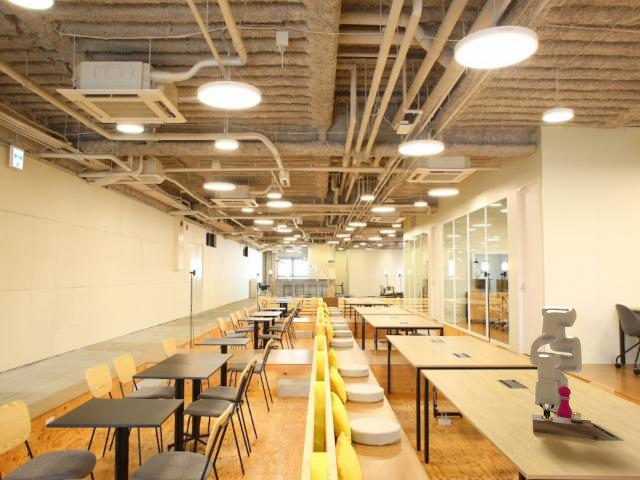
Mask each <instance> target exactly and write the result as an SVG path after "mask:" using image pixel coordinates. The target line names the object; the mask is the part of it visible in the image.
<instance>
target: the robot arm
mask: <svg viewBox="0 0 640 480" xmlns="http://www.w3.org/2000/svg"><path fill="white" fill-rule="evenodd" d="M541 315H542V317H543V318H542V327H541V334H540V335H539V336H537V337H536V338H535V339H534V340H533V342H532V343H531V346H530V352H529V362H530V364H531V365H532V366H534V367H537V381H536V382H535V388H534V389H535V390H534V391H535V392H534V397H535V398H534V400H535V401H534V405H535V406H538V407H540V408H541V409H542V410H543V415H544V416H545V418H546V419H547V418H548V419H549V417H550V416H551V412H554V413H557V411H558V408H559V406H560V398H559V397H560V396H559V395H560V394H559V393H558V389H559V387H561V386H562V384H563V383H565V384H566V387H568V388H569V380H568V376H566V374H565V373H575V374H578V373H580V372H582V368H583V362H582V361H583V359H582V346H581V345H582V343H581V340H580V339H579V337H578V336H575V335H567V333H566V328H571V327H573V326H574V325H575V323H576V320H577V311H576V309H575V308H574V307H570V306H569V307H568V306H549V305H548V306H544V307H542V309H541ZM548 344H549V348H550V350H551V351H552V352H545V351H538V350H539V349H540V348H541V347H543V346H545V345H548ZM555 352H557V353H555ZM563 353H567V354H563ZM546 405H547V406H546ZM571 410H572V411H573V409H572V408H571Z"/></svg>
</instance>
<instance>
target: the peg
mask: <svg viewBox="0 0 640 480" xmlns="http://www.w3.org/2000/svg"><path fill="white" fill-rule="evenodd" d="M581 420H582V413H581V412H576V411H575V412H574V411H572V423H579V424H581Z"/></svg>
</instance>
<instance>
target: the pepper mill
mask: <svg viewBox="0 0 640 480" xmlns="http://www.w3.org/2000/svg"><path fill="white" fill-rule="evenodd" d="M558 393H559V394H560V395H559V396H560V397H559V398H560V406H559V408H558V411H557V412H556V414H557V417H562V418H572V412H573V409H572V408H571V406H570V399H571V394H572V392H571V389H570V387H569V386H568V387H566V384H565V383H563V384H562V386H561V387H559V389H558ZM571 409H572V410H571Z"/></svg>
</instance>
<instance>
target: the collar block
mask: <svg viewBox="0 0 640 480" xmlns="http://www.w3.org/2000/svg"><path fill="white" fill-rule="evenodd" d="M543 417H545V416H544V414H542V415H541V414H533V413H532V417H531V418H532V431H533V432H532V433H536V434H545V435H551V436H552V435H554V436H560V437H569V438H570V437H571V438H576V439H585V440H593V441H594V440H595V432H594V431H595V430H594V425H593V422H592V421H591V420H588V419H581V424H579V423H572V418H562V417H559V416H553V415H550V418H552V420H543Z"/></svg>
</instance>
